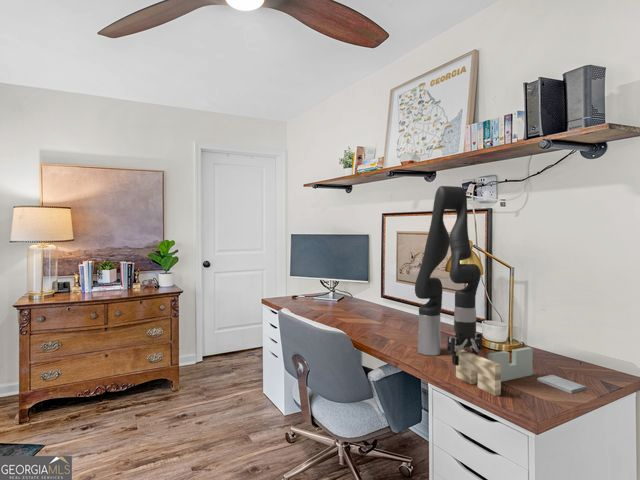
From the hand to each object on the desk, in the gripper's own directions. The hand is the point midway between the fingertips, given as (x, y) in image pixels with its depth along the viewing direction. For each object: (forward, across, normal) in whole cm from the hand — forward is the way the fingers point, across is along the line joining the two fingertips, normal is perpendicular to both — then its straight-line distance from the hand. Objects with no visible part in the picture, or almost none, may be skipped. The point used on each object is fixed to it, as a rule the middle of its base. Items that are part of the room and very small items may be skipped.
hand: (465, 363), depth 142 cm
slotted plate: (+6, -16, +6) cm, 18 cm away
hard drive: (+7, -27, +17) cm, 33 cm away
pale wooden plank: (+6, 0, +6) cm, 8 cm away
